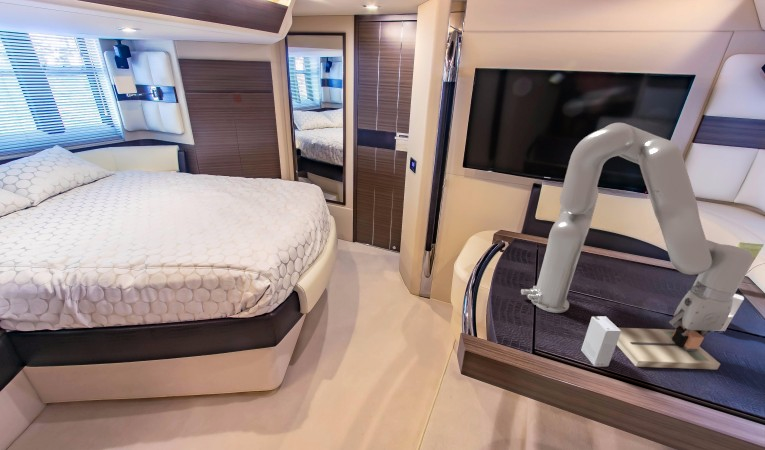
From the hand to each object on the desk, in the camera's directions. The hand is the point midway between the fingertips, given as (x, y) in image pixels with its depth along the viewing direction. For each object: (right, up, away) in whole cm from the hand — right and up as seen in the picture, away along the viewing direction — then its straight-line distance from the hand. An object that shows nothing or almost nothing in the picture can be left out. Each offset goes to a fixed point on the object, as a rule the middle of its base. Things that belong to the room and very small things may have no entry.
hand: (683, 343), depth 91 cm
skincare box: (-28, -3, -3) cm, 28 cm away
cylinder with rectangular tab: (+20, +2, +13) cm, 24 cm away
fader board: (-7, -2, +1) cm, 7 cm away
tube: (+47, +9, +32) cm, 58 cm away
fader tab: (0, 0, 0) cm, 0 cm away
